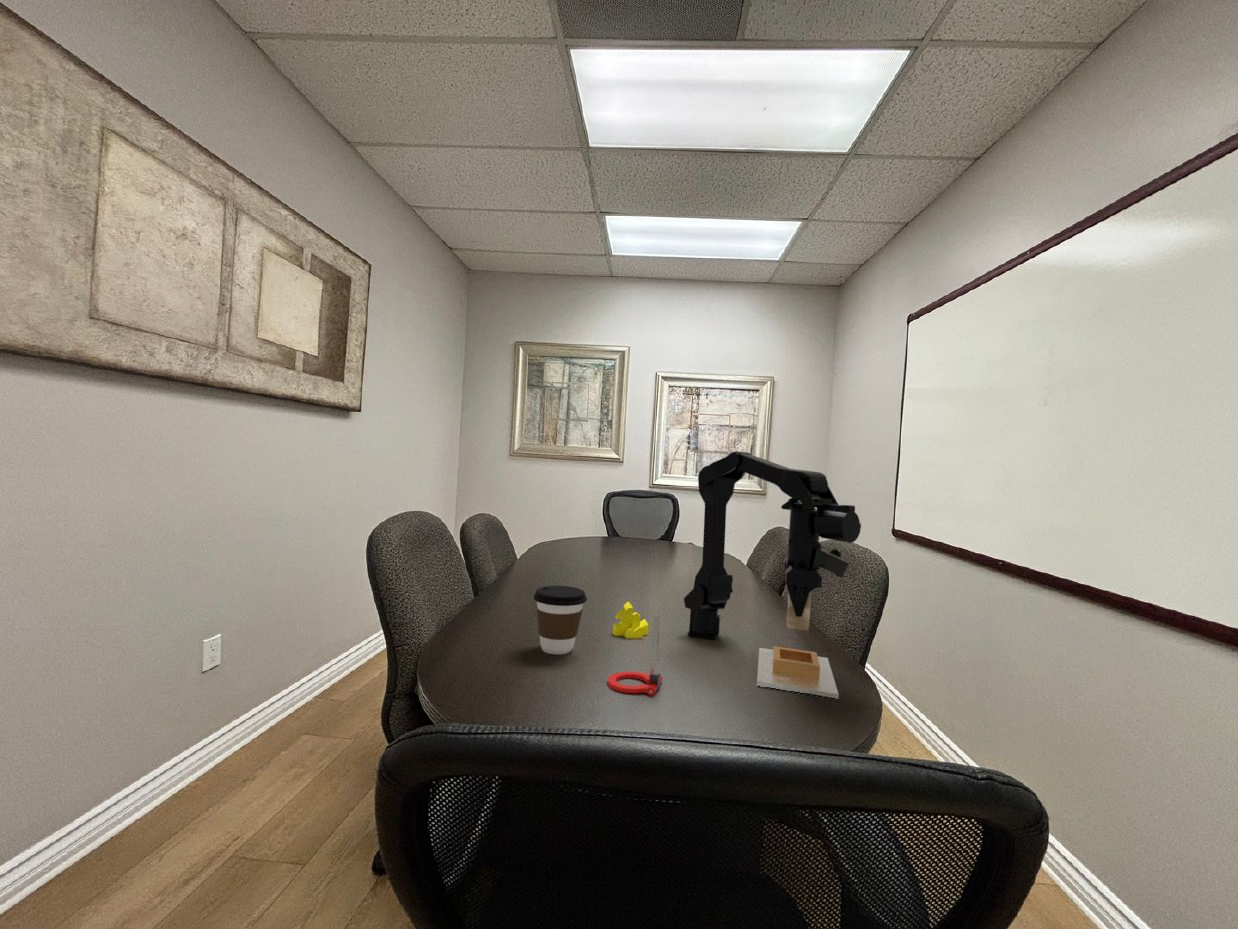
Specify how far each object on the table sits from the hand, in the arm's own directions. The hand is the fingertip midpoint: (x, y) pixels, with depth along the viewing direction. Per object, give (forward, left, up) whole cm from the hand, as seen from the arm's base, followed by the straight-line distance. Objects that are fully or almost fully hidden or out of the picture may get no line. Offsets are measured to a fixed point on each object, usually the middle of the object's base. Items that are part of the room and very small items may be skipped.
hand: (798, 613), depth 110 cm
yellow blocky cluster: (-36, +9, -12) cm, 39 cm away
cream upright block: (0, 0, -2) cm, 2 cm away
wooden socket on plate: (0, 0, -12) cm, 12 cm away
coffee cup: (-47, -8, -12) cm, 49 cm away
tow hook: (-28, -19, -12) cm, 36 cm away
